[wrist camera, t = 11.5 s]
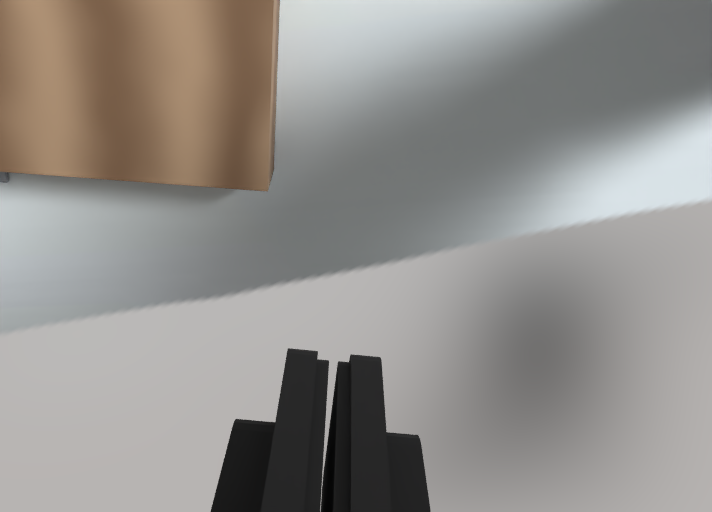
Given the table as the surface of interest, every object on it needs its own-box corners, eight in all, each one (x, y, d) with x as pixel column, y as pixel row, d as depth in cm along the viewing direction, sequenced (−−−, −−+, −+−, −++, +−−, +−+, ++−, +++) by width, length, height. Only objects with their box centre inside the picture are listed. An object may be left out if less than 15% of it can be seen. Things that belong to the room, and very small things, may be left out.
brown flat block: (282, -91, 31) (277, -98, 28) (273, 169, 37) (267, 191, 34) (-40, -126, 30) (-90, -138, 27) (3, 149, 36) (-33, 169, 33)
